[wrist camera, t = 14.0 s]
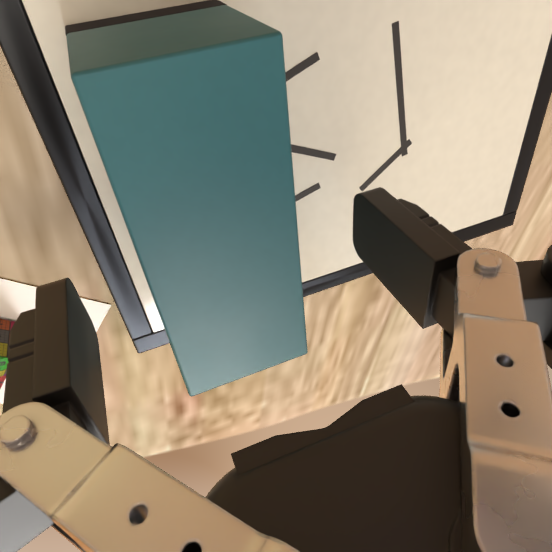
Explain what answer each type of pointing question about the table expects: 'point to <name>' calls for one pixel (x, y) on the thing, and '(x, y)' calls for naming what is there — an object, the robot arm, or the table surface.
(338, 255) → the whiteboard
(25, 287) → the picture card
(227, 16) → the eraser
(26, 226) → the table surface
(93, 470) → the robot arm
